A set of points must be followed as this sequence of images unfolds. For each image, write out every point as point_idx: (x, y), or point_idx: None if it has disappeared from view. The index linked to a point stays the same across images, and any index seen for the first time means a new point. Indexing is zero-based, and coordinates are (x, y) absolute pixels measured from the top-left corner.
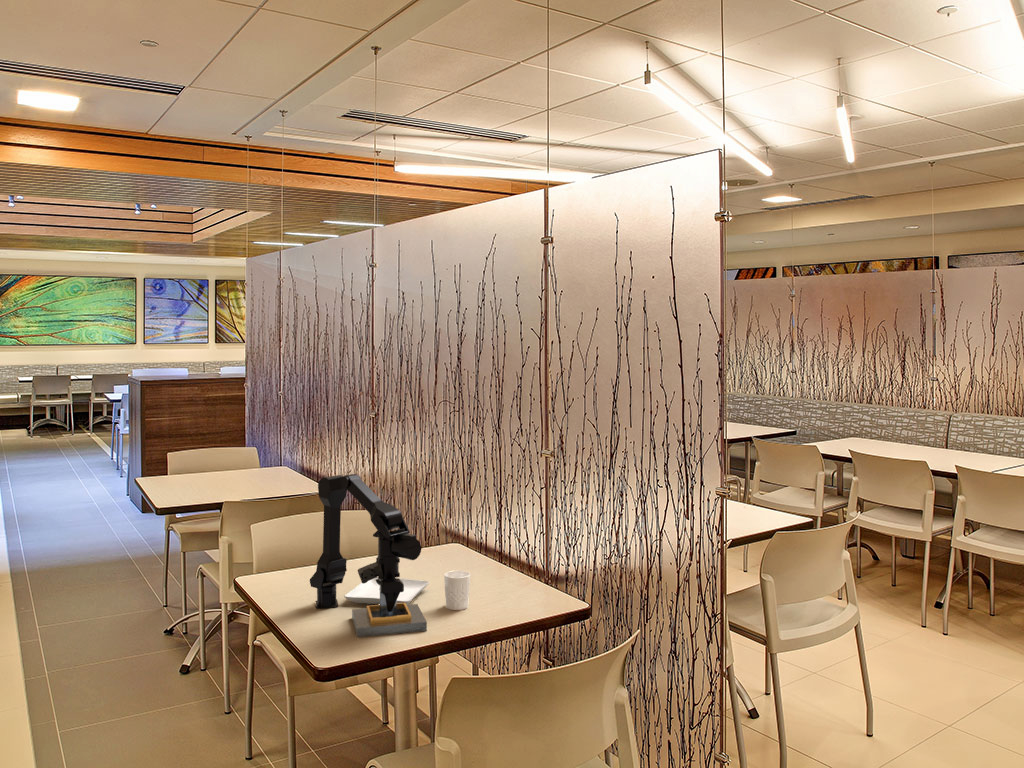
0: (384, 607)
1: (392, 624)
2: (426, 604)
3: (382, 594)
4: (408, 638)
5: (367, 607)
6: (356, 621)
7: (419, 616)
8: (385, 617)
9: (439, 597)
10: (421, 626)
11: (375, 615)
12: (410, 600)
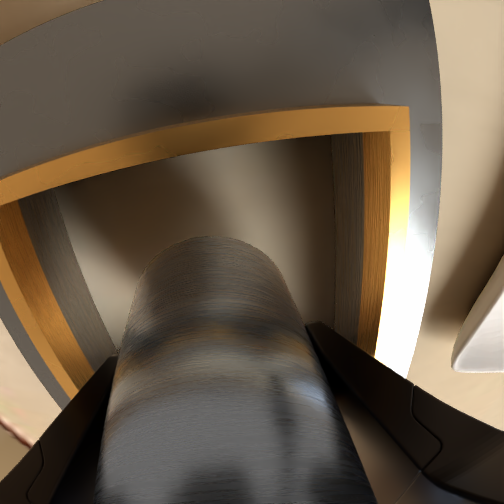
0: (119, 355)
1: (19, 339)
2: (445, 385)
3: (100, 496)
4: (10, 365)
5: (355, 111)
6: (62, 26)
7: None
8: (22, 322)
9: (475, 397)
10: None
11: (345, 177)
12: (458, 371)
